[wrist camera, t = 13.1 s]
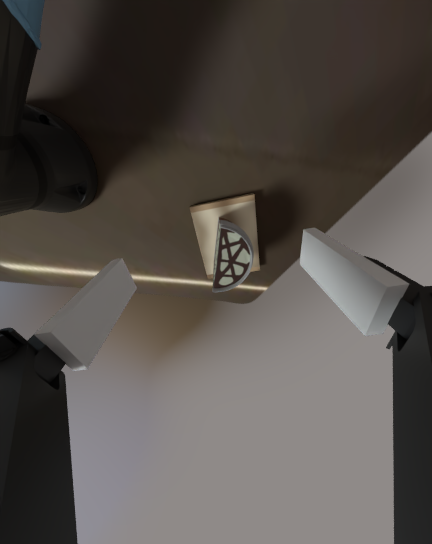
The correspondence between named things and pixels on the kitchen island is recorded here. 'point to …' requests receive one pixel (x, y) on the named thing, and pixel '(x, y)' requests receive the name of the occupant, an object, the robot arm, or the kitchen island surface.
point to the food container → (231, 256)
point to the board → (231, 209)
